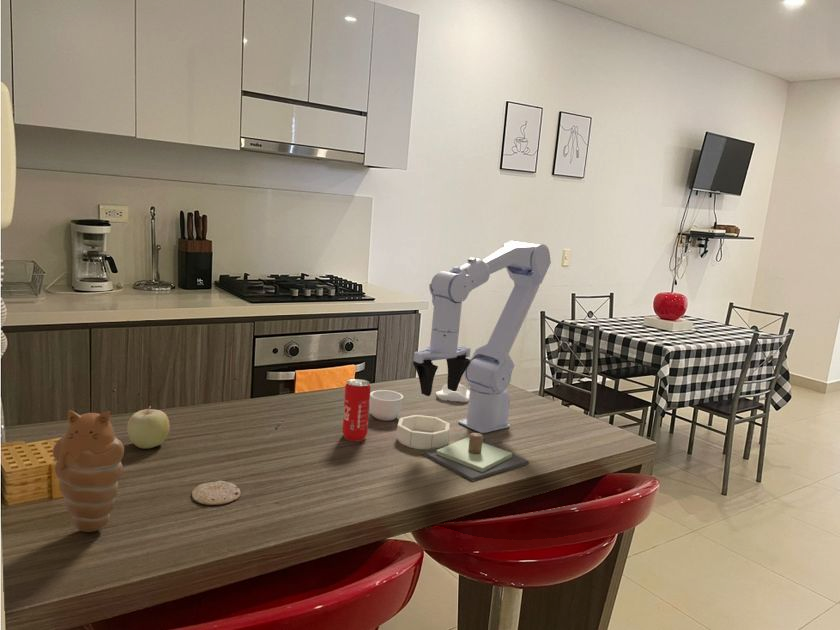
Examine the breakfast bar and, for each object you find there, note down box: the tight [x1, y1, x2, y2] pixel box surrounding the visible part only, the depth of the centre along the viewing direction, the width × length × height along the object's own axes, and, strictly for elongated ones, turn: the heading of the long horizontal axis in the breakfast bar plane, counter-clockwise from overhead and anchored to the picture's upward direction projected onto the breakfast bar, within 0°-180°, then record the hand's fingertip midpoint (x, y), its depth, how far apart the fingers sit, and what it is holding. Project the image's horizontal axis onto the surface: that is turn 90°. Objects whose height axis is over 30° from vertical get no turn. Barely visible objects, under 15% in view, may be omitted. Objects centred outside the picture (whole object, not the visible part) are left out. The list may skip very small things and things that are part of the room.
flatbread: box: [191, 479, 241, 506], centre depth 103 cm, size 8×8×1 cm
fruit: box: [126, 405, 171, 450], centre depth 119 cm, size 8×7×8 cm
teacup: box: [369, 389, 404, 422], centre depth 146 cm, size 10×8×5 cm
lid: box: [436, 432, 513, 472], centre depth 126 cm, size 11×11×4 cm
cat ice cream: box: [52, 409, 125, 533], centre depth 88 cm, size 9×8×18 cm
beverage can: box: [342, 378, 371, 442], centre depth 131 cm, size 5×5×12 cm
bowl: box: [396, 414, 451, 451], centre depth 134 cm, size 11×11×4 cm
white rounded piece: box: [435, 382, 470, 403], centre depth 165 cm, size 10×4×10 cm
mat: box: [422, 438, 530, 482], centre depth 127 cm, size 16×14×1 cm
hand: (439, 392), depth 134 cm, fingers open, 7 cm apart
